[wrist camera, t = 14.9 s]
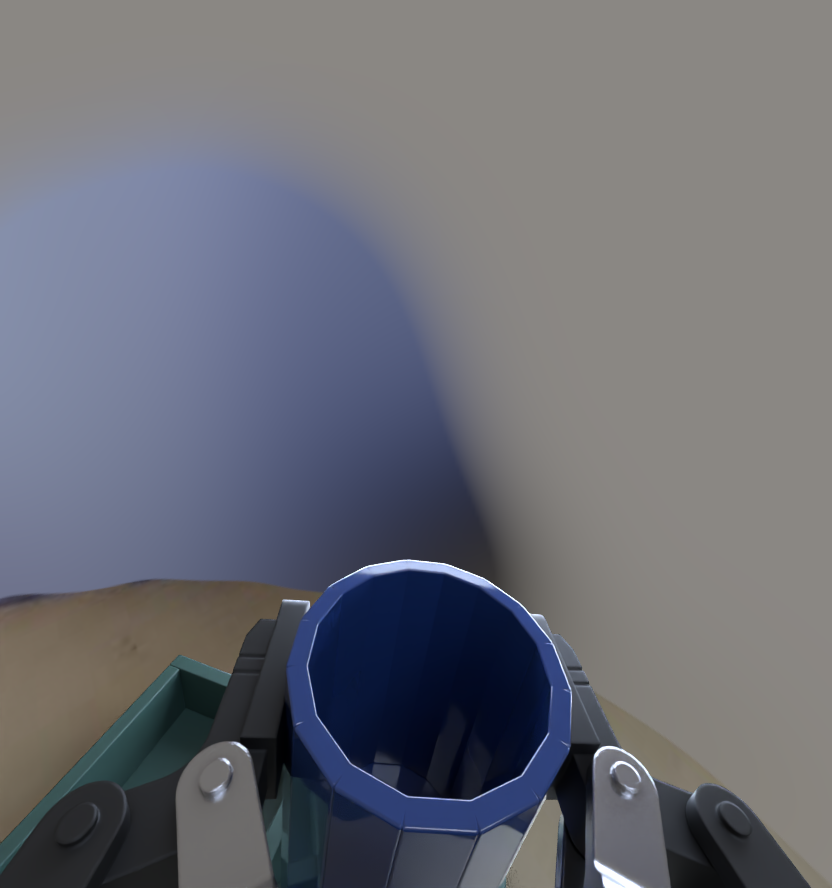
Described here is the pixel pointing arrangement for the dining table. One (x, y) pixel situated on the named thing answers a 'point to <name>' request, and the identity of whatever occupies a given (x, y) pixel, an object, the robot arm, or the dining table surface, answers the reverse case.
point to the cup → (417, 731)
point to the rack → (154, 748)
